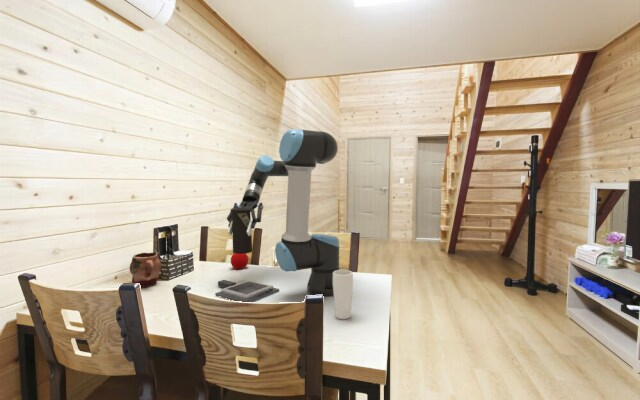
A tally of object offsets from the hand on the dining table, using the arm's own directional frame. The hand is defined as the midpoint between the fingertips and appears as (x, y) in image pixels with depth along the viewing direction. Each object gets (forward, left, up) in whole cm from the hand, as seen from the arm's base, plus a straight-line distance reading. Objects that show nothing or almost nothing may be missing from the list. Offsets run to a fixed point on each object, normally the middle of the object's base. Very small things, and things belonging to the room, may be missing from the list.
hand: (238, 233), depth 138 cm
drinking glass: (-53, +2, -23) cm, 58 cm away
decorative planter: (+37, +21, -23) cm, 49 cm away
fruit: (+25, -21, -24) cm, 41 cm away
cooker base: (-5, +4, -23) cm, 24 cm away
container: (+1, -3, -9) cm, 10 cm away
